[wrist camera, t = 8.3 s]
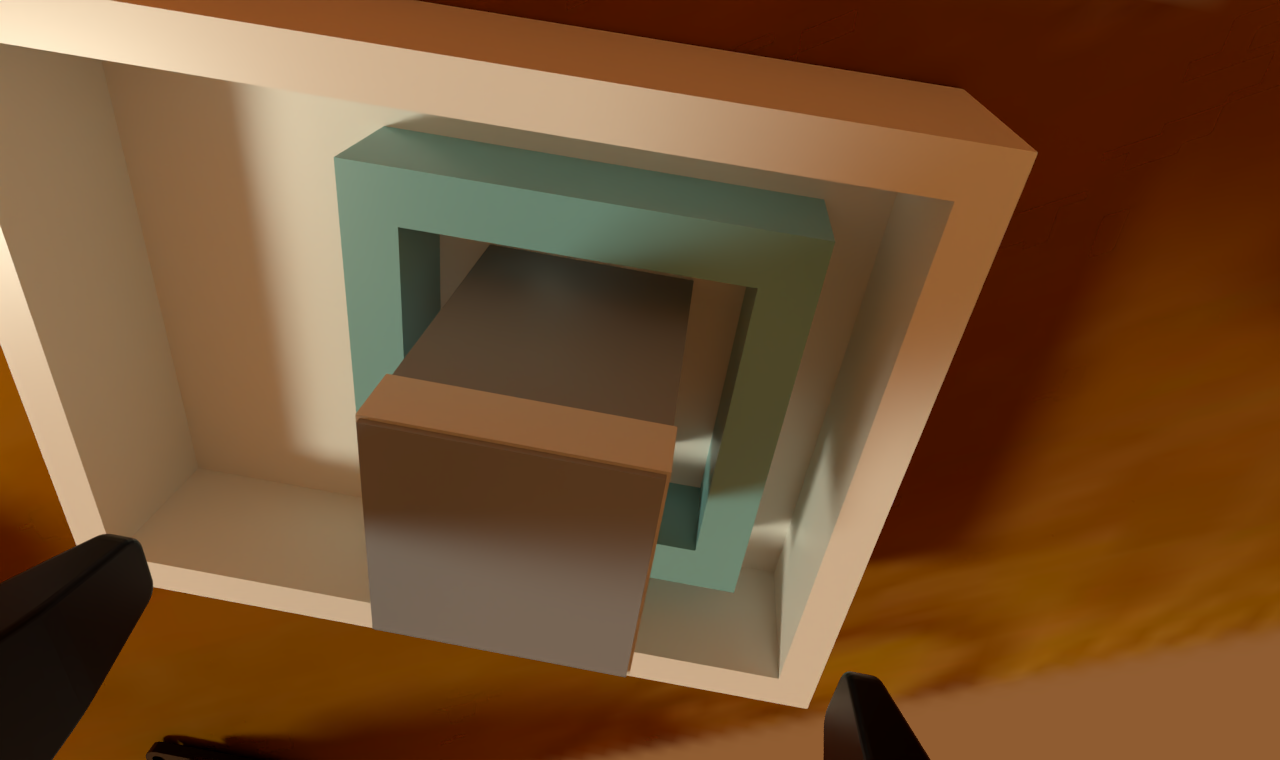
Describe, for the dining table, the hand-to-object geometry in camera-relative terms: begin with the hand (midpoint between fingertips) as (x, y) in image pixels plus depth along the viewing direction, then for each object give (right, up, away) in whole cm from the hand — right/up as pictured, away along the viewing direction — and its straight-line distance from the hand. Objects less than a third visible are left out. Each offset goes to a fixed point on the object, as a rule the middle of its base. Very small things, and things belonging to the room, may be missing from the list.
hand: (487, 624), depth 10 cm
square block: (+1, +4, +6) cm, 7 cm away
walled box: (-1, +5, +7) cm, 8 cm away
